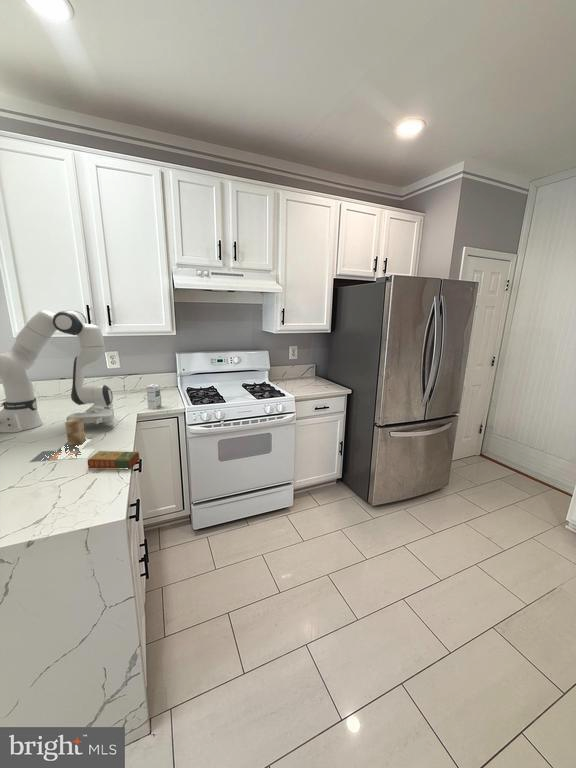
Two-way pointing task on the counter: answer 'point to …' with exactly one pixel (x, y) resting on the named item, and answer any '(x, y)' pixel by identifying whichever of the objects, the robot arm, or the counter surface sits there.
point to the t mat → (56, 453)
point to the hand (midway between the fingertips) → (84, 423)
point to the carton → (113, 459)
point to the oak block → (75, 431)
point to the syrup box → (153, 396)
